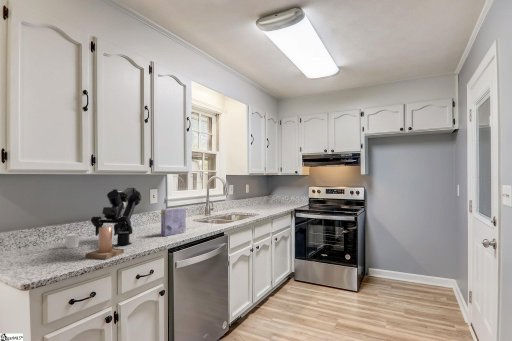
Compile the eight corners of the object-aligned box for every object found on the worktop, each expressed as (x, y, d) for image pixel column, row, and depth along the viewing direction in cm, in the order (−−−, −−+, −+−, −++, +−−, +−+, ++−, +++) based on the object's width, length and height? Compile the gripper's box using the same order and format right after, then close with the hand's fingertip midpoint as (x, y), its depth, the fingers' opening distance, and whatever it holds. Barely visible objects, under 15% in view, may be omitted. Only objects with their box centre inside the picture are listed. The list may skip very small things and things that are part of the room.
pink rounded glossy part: (99, 250, 146) (100, 226, 146) (112, 249, 148) (113, 225, 148) (97, 253, 140) (97, 228, 140) (111, 252, 142) (111, 227, 142)
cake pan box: (182, 231, 208) (182, 207, 209) (187, 232, 205) (187, 207, 206) (160, 235, 192) (160, 209, 193) (165, 236, 189) (165, 209, 190)
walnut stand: (104, 251, 151) (104, 247, 151) (123, 253, 148) (123, 249, 148) (85, 257, 139) (85, 253, 139) (106, 259, 137) (106, 255, 137)
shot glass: (65, 249, 156) (65, 236, 156) (64, 246, 162) (64, 234, 162) (79, 247, 160) (80, 234, 160) (78, 245, 166) (78, 232, 166)
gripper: (92, 201, 149) (79, 226, 138) (128, 201, 150) (118, 225, 139) (100, 214, 157) (88, 238, 146) (134, 214, 157) (125, 238, 146)
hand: (105, 235), depth 144 cm, fingers open, 9 cm apart
